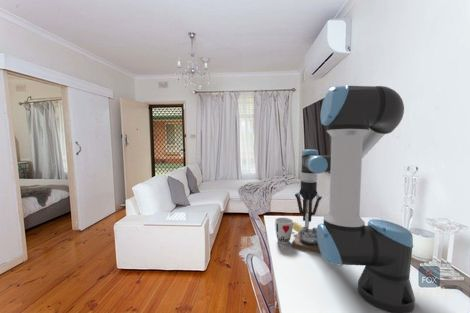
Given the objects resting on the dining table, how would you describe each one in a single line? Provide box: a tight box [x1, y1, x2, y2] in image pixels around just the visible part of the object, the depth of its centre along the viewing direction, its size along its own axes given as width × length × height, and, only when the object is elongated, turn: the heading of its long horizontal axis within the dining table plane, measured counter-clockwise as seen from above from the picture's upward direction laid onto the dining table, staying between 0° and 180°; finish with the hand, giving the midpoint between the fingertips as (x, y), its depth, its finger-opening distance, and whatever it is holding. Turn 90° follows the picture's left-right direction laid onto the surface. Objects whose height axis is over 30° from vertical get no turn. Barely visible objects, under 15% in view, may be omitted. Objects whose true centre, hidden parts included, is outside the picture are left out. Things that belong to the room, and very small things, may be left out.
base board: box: [291, 232, 321, 255], centre depth 110 cm, size 14×14×2 cm
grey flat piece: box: [292, 221, 318, 246], centre depth 114 cm, size 20×11×4 cm, turn 20°
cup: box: [274, 217, 294, 245], centre depth 112 cm, size 8×8×10 cm
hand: (306, 227), depth 120 cm, fingers closed
